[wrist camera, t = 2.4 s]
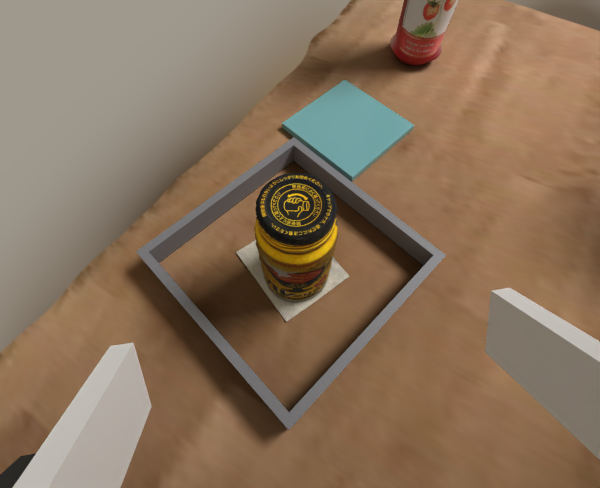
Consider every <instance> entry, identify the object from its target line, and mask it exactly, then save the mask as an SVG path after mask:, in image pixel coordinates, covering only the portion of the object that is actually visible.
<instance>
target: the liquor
mask: <svg viewBox="0 0 600 488" xmlns="http://www.w3.org/2000/svg"><path fill="white" fill-rule="evenodd" d="M458 2H459V0H404V3H403V7H402V12H401V16H400V20H399V24H398V28H397V32H396V34H395V35H394V36H393V38H392V39H391V42H390V46H391V49H392V50H393V52H394V53H395V55H396V56H397V58H398V59H399V60H400V61H402V62H403V63H405V64H408V65H421V64H424V63H427V62H429V61H432V60H434V59H436V58H437V57H438V56H439V55H440V53H441V42H442V39H443V37H444V35H445V32H446V30H447V27H448V25H449V23H450V20H451V18H452V15H453V13H454V11H455V9H456V6H457V4H458Z"/></svg>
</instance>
